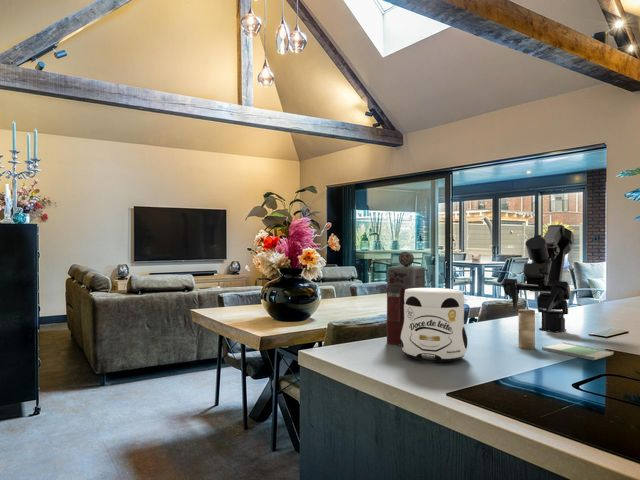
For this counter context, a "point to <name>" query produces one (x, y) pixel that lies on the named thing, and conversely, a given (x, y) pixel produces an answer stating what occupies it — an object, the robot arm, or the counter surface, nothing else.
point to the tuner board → (578, 351)
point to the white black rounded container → (434, 324)
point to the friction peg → (526, 329)
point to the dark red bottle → (400, 293)
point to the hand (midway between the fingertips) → (530, 309)
